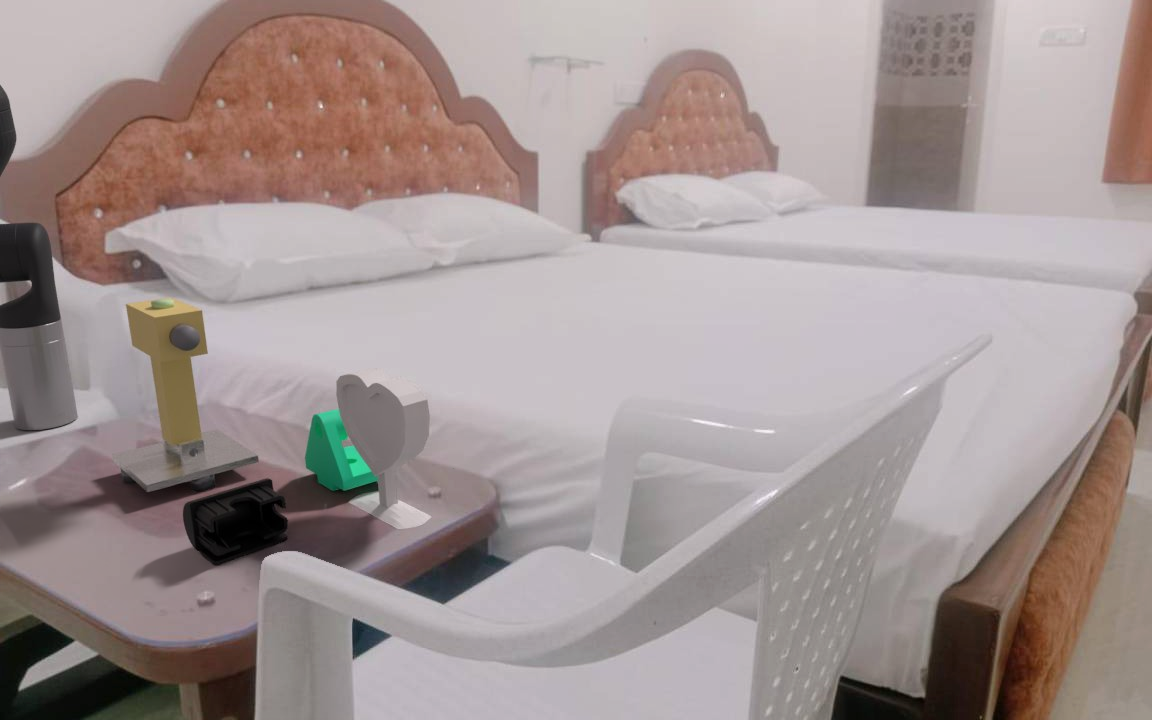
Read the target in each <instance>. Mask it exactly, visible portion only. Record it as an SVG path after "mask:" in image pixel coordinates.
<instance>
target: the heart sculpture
mask: <svg viewBox="0 0 1152 720" xmlns="http://www.w3.org/2000/svg"><path fill="white" fill-rule="evenodd" d="M335 383H336V392H335V393H336V400H337V405H338V409H339V413H340V417H341V419H342V422H343V424H344V427H345V430H346V432H347V435H348V438H349V440H350V442H351V443H352V446H354V447H355V448H356V450H357V452H358V453H359V455H360V456H361V457H362V459H363V460H364V461H365V463H366V464H367V466H368V467H369V468H370V470H371V472H372V473H373V475H374V476H378V481H377V485H378V486H377V487H378V490H376V491H371V492H364V493H360V494H358V495H357V496H355V497H353V498H352V499H350V500H349V501H348V503H349V504H351V505H352V506H355V508H358V509H360V510H362V511H363V512H365V513H367V514H369V515H371V516H373V517H374V518H377V519H379V520H380V521H382V522H384V523H386V524H388V525H390V526H391V527H394V528H396V529H397V530H406V529H412V528H417V527H421V526H422V525H424V524H425V523H427V522H428V521H429V520H430V519H431V518H432V517H433V516H431V515H430V514H428V513H426V512H424V511H422V510H419V509H418V508H417V507H414V506H412V505H410V504H407V503H406V502H404V501H402V500H400V499H399V498H398V485H397V484H398V483H397V470H399V468H401V467H403V466H404V465H405V464H407V463H409V462H411V461H413V460H415V458H417V457H418V456H419V455H420V454H421V453H422V452H423V451H424V450H425V449H424V448H425V446H426V444H427V441H428V438H429V435H430V419H431V418H430V417H431V414H430V408H429V402H428V399H427V396H426V395H425V393H424V392H423V391H422V389H420V388H419V387H418V386H417V385H416V384H415V383H414V382H412V381H411V380H409V379H408V378H406V377H402V376H398V377H394V378H390V377H389V375H387V373H386V372H385V371H384V370H382V369H380V368H379V369H378V368H367V369H363V370H358V371H355V372H350V373H347V374H343V375H340V376H339V377H338V379H337V380H336V382H335Z"/></svg>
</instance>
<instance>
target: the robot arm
mask: <svg viewBox="0 0 1152 720" xmlns="http://www.w3.org/2000/svg"><path fill="white" fill-rule="evenodd" d="M15 127H16V126H15V123H14V117H13V113H12V109H11V103H10V99H9V97H8V94H7V92H6V91H5V89H4V88H3V86H2V85H1V84H0V177H2V175H3V173H4V171H5V169H6V167H7V166H8V164H9V161H10V160H11V158H12V156H13V153H14V151H15V147H16V145H17V144H16V143H17V132H16V128H15ZM55 280H56V279H55V272H54V262H53V253H52V245H51V241H50V237H49V233H48V231H47V229H46V228H45V226H43V224H41V223H39V222H15V223H13V222H12V223H11V222H10V223H0V284H1V283H12V282H13V283H16V282H26V281H29V282H31V286H30V287H31V288H30V289H29V290H28V291H26V293H24V294H22V295H21V296H19V297H17V298H15V299H13V300H9V301H7V302H5V303H2V304H0V355H1V361H2V364H3V365H2V366H3V370H4V371H3V372H4V374H5V380H6V385H7V386H6V387H7V391H8V395H9V396H8V397H9V400H10V401H9V402H10V406H11V412H12V416H13V422H14V427H15V428H16V429H17V430H23V431H40V430H41V431H42V430H47V429H53V428H57V427H61V426H65V425H67V424H69V423H72V422H74V421H76V420H77V419H78V417H79V415H78V409H77V402H76V399H75V398H76V397H75V391H74V384H73V381H72V380H73V379H72V373H71V368H70V367H71V366H70V362H69V356H68V350H67V344H66V339H65V334H64V328H63V322H62V316H61V311H60V306H59V299H58V293H57V287H56V281H55Z"/></svg>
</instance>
